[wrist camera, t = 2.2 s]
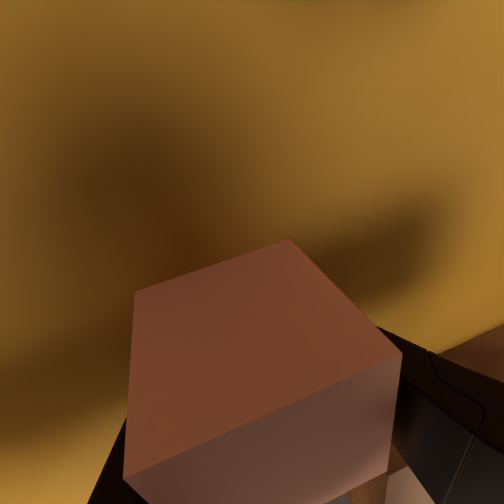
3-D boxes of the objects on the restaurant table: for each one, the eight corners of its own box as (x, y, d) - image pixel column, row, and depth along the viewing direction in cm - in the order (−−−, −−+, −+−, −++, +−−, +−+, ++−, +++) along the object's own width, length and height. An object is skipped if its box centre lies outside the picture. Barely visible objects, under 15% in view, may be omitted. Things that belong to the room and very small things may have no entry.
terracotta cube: (288, 237, 9) (402, 353, 5) (303, 339, 12) (387, 470, 8) (134, 290, 8) (123, 478, 4) (187, 387, 11) (211, 562, 7)
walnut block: (510, 313, 17) (597, 365, 14) (469, 417, 24) (522, 470, 20) (335, 393, 15) (388, 476, 12) (342, 483, 22) (377, 554, 18)
